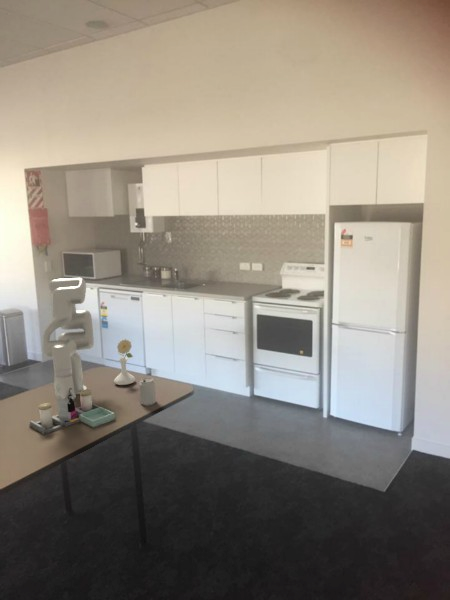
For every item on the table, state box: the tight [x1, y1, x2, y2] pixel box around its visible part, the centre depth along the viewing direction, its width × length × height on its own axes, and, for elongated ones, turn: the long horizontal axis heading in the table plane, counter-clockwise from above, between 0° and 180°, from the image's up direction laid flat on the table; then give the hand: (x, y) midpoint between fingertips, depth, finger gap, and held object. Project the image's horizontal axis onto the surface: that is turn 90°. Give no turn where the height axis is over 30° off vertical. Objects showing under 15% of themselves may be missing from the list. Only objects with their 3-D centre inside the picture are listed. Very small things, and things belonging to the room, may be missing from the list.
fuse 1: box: [38, 402, 54, 430], centre depth 220 cm, size 5×5×10 cm
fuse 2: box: [79, 389, 93, 412], centre depth 234 cm, size 5×5×10 cm
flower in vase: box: [113, 338, 136, 386], centre depth 270 cm, size 13×11×25 cm
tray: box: [78, 406, 116, 428], centre depth 226 cm, size 11×11×3 cm
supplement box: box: [56, 395, 77, 423], centre depth 227 cm, size 6×6×12 cm
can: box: [138, 377, 157, 407], centre depth 242 cm, size 8×8×12 cm
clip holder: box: [28, 402, 101, 435], centre depth 228 cm, size 13×30×2 cm, turn 137°
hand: (66, 408), depth 227 cm, fingers closed on supplement box, 7 cm apart
